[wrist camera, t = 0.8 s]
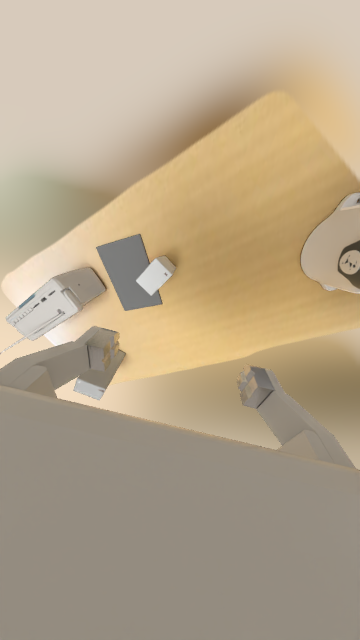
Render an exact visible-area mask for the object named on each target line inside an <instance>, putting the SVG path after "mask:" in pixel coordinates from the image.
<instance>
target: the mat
mask: <svg viewBox="0 0 360 640" xmlns="http://www.w3.org/2000/svg"><path fill="white" fill-rule="evenodd" d="M96 249H97V251H98V253H99V255H100V257H101V260H102V262H103V264H104V266H105V268H106V271H107V273H108V275H109V277H110V279H111V282H112V284H113V286H114V288H115V290H116V292H117V295H118V297H119V299H120V301H121V303H122V306H123V308H124V310H125V311H128V310H133V309H138V308H144V307H149V306H154V305H160V304H162V301H161V298H160V294H159V291H158V290H157V291H156V292H155V293H154V294H153V295H152V296H151V295H150V294H148V293H147V292H146V291H145V290H144V289H143V288H142V287H141V286H140V285H139V284H138V283H137V282H136V280H137V279H138V277H139V276H140V275H141V274H142V273H143V272H144V271H145V269H146V268H147V267H148V266H149V265H150V263H149V260H148V257H147V254H146V251H145V247H144V244H143V241H142V238H141V235H140V234H138V235H135V236H131V237H128V238H125V239H122V240H118V241H115V242H112V243H108V244H105V245H102V246H98V247H96Z"/></svg>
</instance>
